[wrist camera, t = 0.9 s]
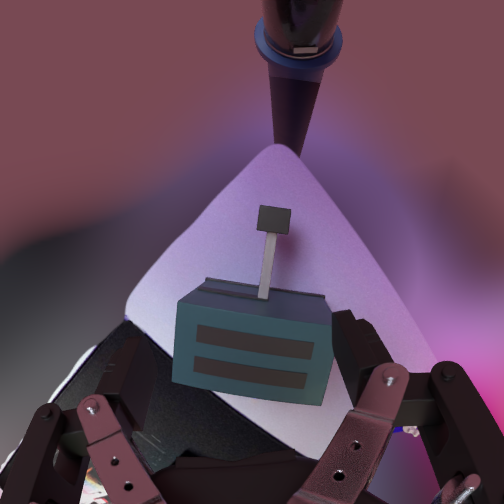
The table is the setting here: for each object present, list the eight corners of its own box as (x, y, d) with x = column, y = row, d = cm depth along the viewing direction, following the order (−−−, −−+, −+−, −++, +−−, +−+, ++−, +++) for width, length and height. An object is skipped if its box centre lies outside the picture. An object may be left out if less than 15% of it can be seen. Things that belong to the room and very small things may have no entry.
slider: (261, 206, 32) (259, 204, 30) (290, 210, 32) (291, 209, 29) (249, 292, 33) (246, 298, 30) (277, 296, 33) (277, 302, 30)
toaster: (206, 277, 38) (174, 298, 26) (324, 295, 37) (344, 325, 25) (199, 340, 39) (169, 383, 27) (311, 358, 38) (322, 408, 26)
